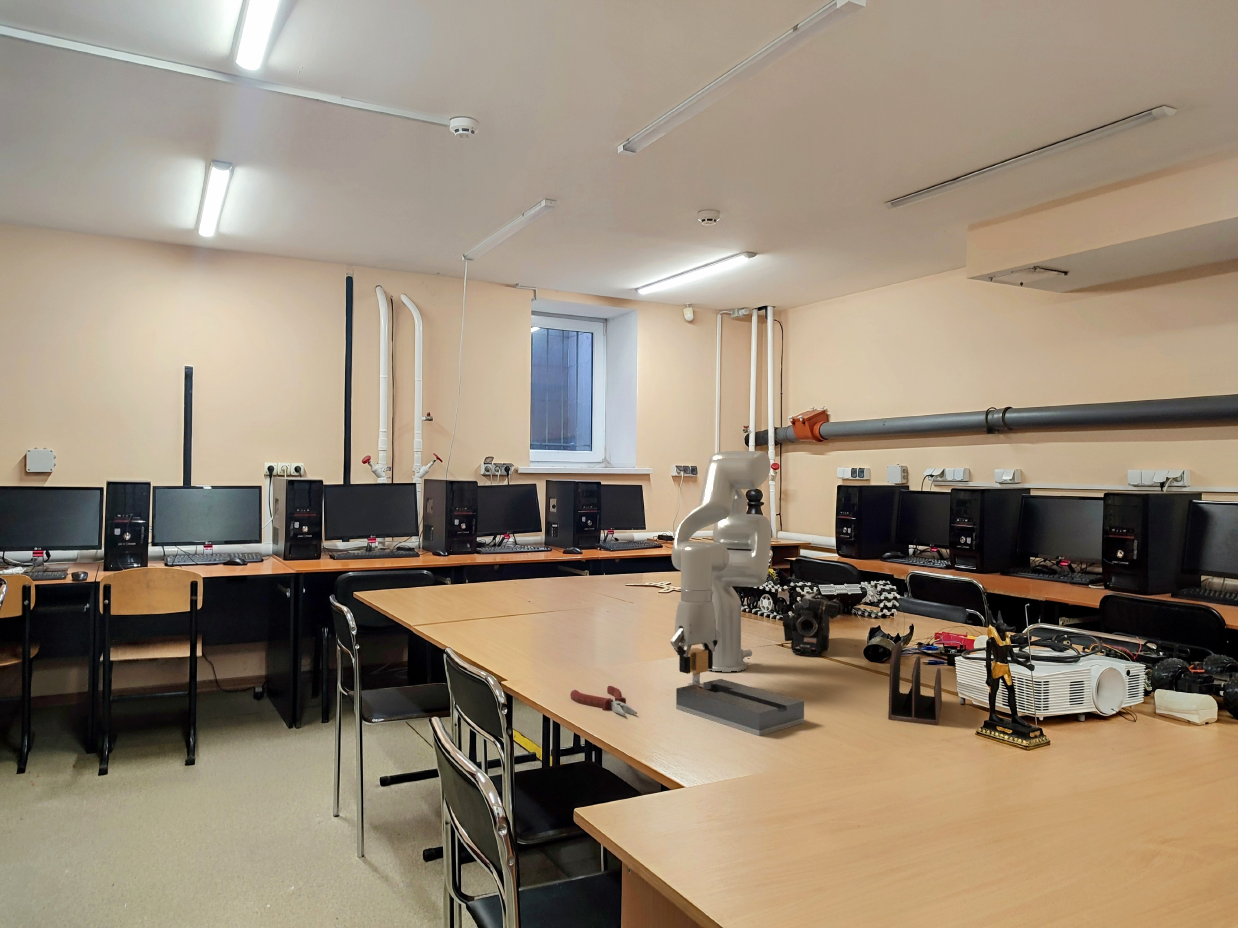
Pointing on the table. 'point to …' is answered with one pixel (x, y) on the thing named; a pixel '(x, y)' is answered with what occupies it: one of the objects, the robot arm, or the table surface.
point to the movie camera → (811, 623)
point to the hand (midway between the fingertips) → (696, 669)
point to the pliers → (604, 701)
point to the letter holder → (912, 695)
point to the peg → (698, 664)
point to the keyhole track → (740, 706)
